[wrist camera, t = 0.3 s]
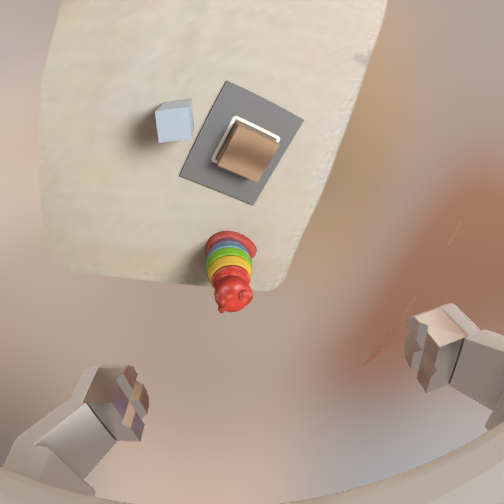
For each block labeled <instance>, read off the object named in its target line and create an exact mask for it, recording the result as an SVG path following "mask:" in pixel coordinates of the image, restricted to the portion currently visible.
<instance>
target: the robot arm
mask: <svg viewBox="0 0 504 504" xmlns="http://www.w3.org/2000/svg"><path fill="white" fill-rule="evenodd" d="M407 329H408V330H409V332H410V333H409V335H408V336H407V338H406V339H405V344H404V352H405V358H406V360H407V363H408V365H409V366H410V368H411V369H413V370H416V371H418V375H417V379H418V380H419V382H420V384H421V386H422V387H423V388H424V390H425V392H426V393H428V392H430V391H433V390H436V389H438V388H441V387H443V386H446V385H448V384H450V385H449V386H451V387H453V388H454V389H456V390H458V391H460V392H461V393H463V394H465V395H467V396H469V397H470V398H472V399H473V400H475V401H477V402H479V403H480V404H482V405H484V406H486V407H487V408H489V409H491V410H493V412H492V414H491V415H490V417H489V419H488V421H487V422H486V425H485V427H486V428H487V430H488V432H486V433H484V434H482V435H481V436H479V437H477V438H476V439H474V440H472V441H470V442H469V443H467V444H465V445H463V446H461V447H459V448H457V449H455V450H453V451H451V452H449V453H447V454H445V455H443V456H441V457H439V458H437V459H434V460H432V461H430V462H428V463H425V464H423V465H421V466H418V467H416V468H414V469H411V470H408V471H406V472H403V473H401V474H398V475H395V476H392V477H390V478H387V479H384V480H381V481H378V482H375V483H372V484H368V485H365V486H361V487H358V488H355V489H351V490H347V491H343V492H339V493H335V494H331V495H326V496H322V497H317V498H312V499H306V500H301V501H295V502H289V503H281V504H504V336H503V335H500V334H497V333H494V332H491V331H488V330H482V331H481V330H480V329H479V328H478V327H477V326H476V325H475V324H474V323H473V322H472V321H471V320H470V319H469V318H468V317H467V316H466V315H465V314H464V313H463V312H462V311H461V310H460V309H459V308H458V307H457V306H455V305H454V304H452V303H449V304H446V305H443V306H440V307H438V308H436V309H433V310H429V311H426V312H423V313H420V314H417V315H414V316H410V318H409V320H408V324H407ZM136 378H137V373H136V371H135V369H134V367H133V366H130V365H109V366H108V365H103V366H88V367H87V368H85V371H84V373H83V374H82V376H81V378H80V380H79V382H78V384H77V386H76V388H75V390H74V392H73V394H72V396H71V398H70V400H69V402H66V401H65V402H64V403H62V404H61V405H60V406H58V407H57V408H56V409H54V410H53V411H52V412H50V413H49V414H48V415H46V416H45V417H44V418H42V419H41V420H40V421H38V422H37V423H36V424H34V425H33V426H32V427H30V428H29V429H28V430H26V431H25V432H24V433H22V434H21V435H20V436H18V437H17V438H16V441H15V442H14V444H13V446H12V448H11V451H10V453H9V455H8V457H7V459H6V461H5V464H4V466H3V467H1V466H0V504H132V503H125V502H118V501H113V500H107V499H102V498H97V497H94V495H95V490H94V489H93V487H91V486H90V485H89V484H88V483H86V482H85V481H84V478H85V477H86V476H87V475H88V474H89V473H90V472H91V470H92V469H93V468H94V467H95V466H96V465H97V464H98V463H99V461H100V460H101V459H102V458H103V457H104V456H105V455H106V453H107V452H108V451H109V450H110V449H111V448H112V446H114V444H115V443H116V441H141V437H142V433H143V428H144V423H143V421H142V418H143V417H144V416H145V415H146V414H147V412H148V408H149V397H148V394H147V391H146V389H145V387H144V385H143V384H141V383H140V382H139V381H137V380H136Z"/></svg>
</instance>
